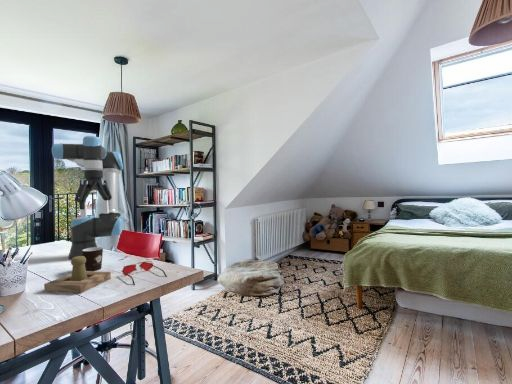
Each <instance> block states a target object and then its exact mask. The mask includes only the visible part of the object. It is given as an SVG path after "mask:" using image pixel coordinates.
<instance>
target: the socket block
mask: <svg viewBox="0 0 512 384" xmlns="http://www.w3.org/2000/svg"><path fill="white" fill-rule="evenodd" d="M86 273H87V278H86V279H84V280H82V281H71V277H72V272H71V273H69V274H66V275H63V276H60V277H59V278H58V277H57V278H56V279H54V280H51V281H48V282H45V283H44V285H43V286H44V290H43V291H44V293H45V292H46V293H47V292H48V293H61V294H62V293H67V294H82V293H85V292H86V291H89V290H90V289H92V288H94V287H97V286H99V285H101V284H103V283H105V282H107V281H109V280H111V279H112V276H111V275H112V274H111V273H112V272H111V271H99V270H97V271H86Z"/></svg>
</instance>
